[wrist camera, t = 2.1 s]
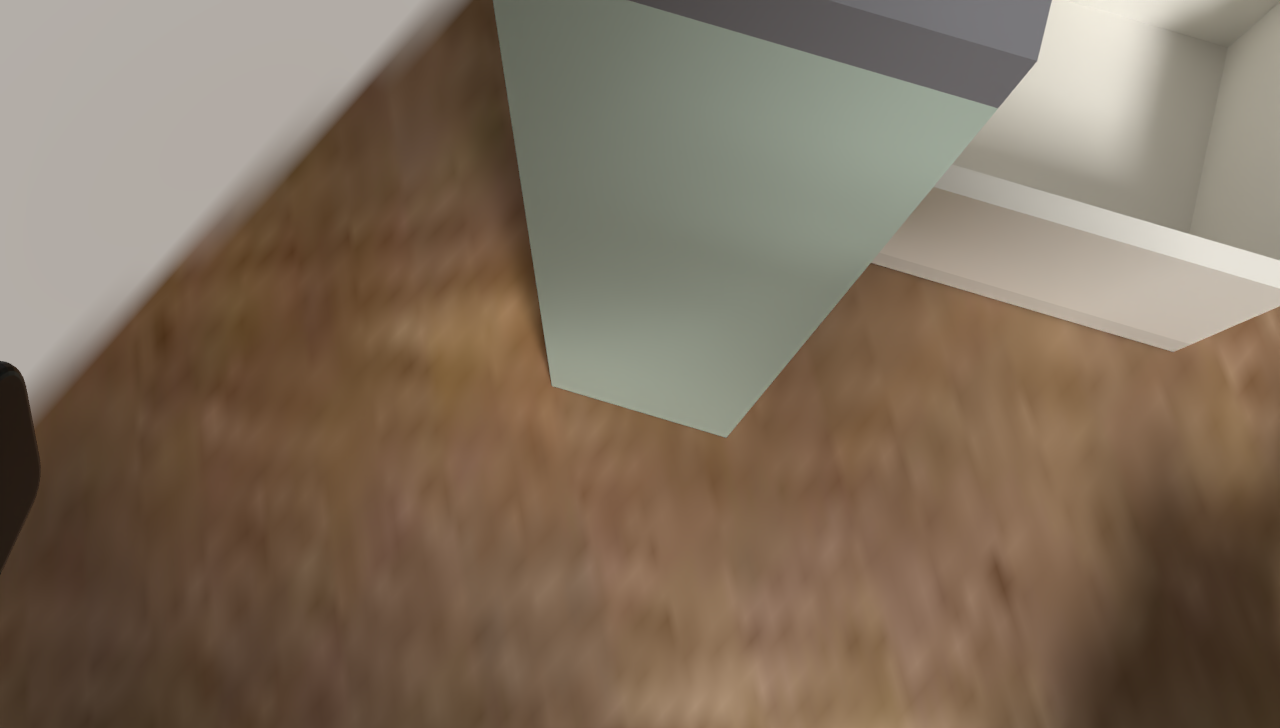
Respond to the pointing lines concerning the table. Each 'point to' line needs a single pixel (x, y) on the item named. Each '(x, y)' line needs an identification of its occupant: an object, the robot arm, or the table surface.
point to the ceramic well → (1122, 175)
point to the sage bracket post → (731, 172)
